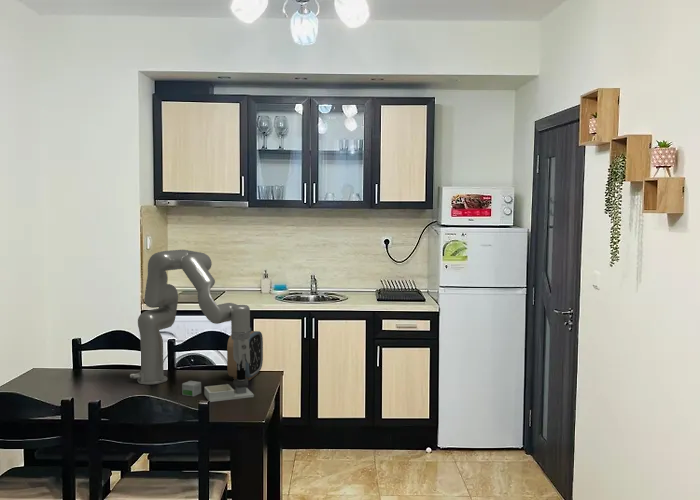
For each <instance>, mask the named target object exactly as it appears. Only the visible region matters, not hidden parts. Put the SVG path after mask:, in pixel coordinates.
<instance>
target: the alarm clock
mask: <svg viewBox="0 0 700 500" xmlns="http://www.w3.org/2000/svg"><path fill="white" fill-rule="evenodd" d="M233 342H234V340H232V339H231V335H230V336H229V338H228V340H227V344H226V345H227V347H226V359H227V361H226V363H227V365H226V366H227V374H228V376H229V377H232V378H233V379H237V364H236V361H235V360H234V357H233ZM263 345H264V338H263V334H262V332H261V331H260V330H258V331H257V330H252V327H250V339H249V349H250V363H249V364H248V363H247V362H245V365H246V367H245V378H246V379H248V381H251V380H252V379H254V378H255V377H256V376H257V375H258V374H259V372H260V371H261V370H262V367H263V362H264V361H263V360H264V346H263Z"/></svg>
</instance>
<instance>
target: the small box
mask: <svg viewBox="0 0 700 500" xmlns="http://www.w3.org/2000/svg"><path fill="white" fill-rule="evenodd" d="M181 391H182V392H181V394H182V396H187V397H196V396H198V395H200V394H202V381H195V380H188V381H186V382H183V383H181Z"/></svg>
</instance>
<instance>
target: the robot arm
mask: <svg viewBox="0 0 700 500" xmlns="http://www.w3.org/2000/svg"><path fill="white" fill-rule="evenodd" d="M212 265H213V264H212V260H211V257H210V256H209V255H208V254H207V253H205V252H204V253H203V252H201V251H194V250H188V249H175V250H174V249H172V250H163V251H157V252H155V253H154V254H151V256H150V257H149V259H148V261H147V276H146V277H147V278H146V283H145V290H144V299H143V300H144V304H145V305H146V307H148V308H153V309H149V310H145V311H143V312H142V313H141V314H139V316H138V318H137V326H138V332H139V338H140V339H139V340H140V343H139V344H140V370H139V372H137V373H129V379H135V380H136V379H137V383H138V384H140V385H148V386H149V385H158V384H163V383H165V382H167V381H168V376H166V375H164V373H165V372H164V339H163V336H162V334H161V332H160V331H162V330H166V329H169V328H170V327H172V326H173V325H174V324H175V320H176V315H177V309H178V303H179V294H178V293H179V292H178V290H177V288H176V287H175V286H174V285H172V284H170V283H168V273H167V272H168V271H175V270H182V271H183V273H184V274H185V276H186V277H187V278H188V280H189V281H190V283H191V284H192V285H193V287H194V288H195V290H196V291H197V301H198V302H197V303H198V306H199V309H200V310H201V312H202V313H203V315H204V317H206V319H207V320H208V321H209V322H210V323H212V324H215V325H218V324H223V323H227V322H230V323H231V324H230V325H231V326H230V331H231V334H230V336H231V339H232V340H234V342H233V357H234V360H235V361H236V364H237V380H245V367H246V365H245V362H247V363H248V364H249V363H250V349H249V339H250V328H251V322H250V321H251V310H250V306H249V305H247V304H236V303H233V302H225V303H221V304H217V303H216V301H215V299H214V298H213V296H212V294H211V289H212V288H213V287H214V286H215V283H216V281H215V280H216V279H215V278H214V277H213V275H212V273H211V272H210V269H211V268H212Z"/></svg>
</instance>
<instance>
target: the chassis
mask: <svg viewBox="0 0 700 500" xmlns="http://www.w3.org/2000/svg"><path fill="white" fill-rule="evenodd" d="M203 387H204V392H203V393H204V394H203V395H204V397H205V398H206V399H207V400H208V402H209V401H210V402H209V403H213V402H221V401H229V400H230V401H231V400H240V399H248V398H254V397H255V394H254V393H253V392H252V391H251V390H250V389H249V388H248V387H247V386H244V387H236V386H235V389H234V388H233V387H232V386H231V385H230V383H229V384H228V383H225V384H217V385H207V386H203Z"/></svg>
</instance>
